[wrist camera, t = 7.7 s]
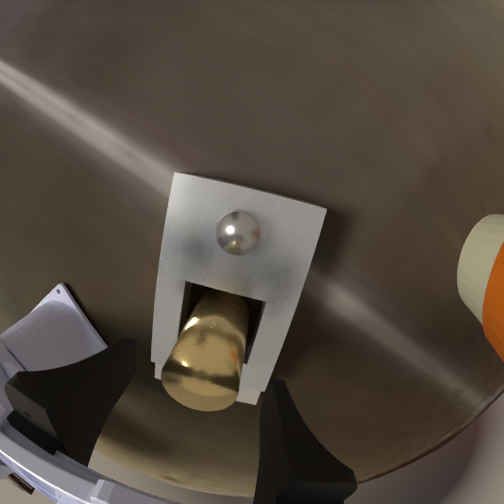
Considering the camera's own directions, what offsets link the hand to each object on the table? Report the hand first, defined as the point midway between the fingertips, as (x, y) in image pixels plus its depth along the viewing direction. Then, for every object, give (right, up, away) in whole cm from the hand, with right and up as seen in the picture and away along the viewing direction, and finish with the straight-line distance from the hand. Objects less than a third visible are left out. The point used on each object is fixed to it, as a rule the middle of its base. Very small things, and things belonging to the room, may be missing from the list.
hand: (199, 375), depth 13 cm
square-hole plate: (+1, +2, +7) cm, 8 cm away
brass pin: (+1, +2, +7) cm, 8 cm away
